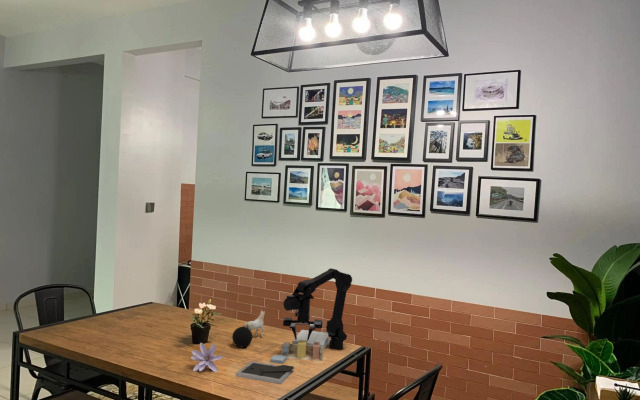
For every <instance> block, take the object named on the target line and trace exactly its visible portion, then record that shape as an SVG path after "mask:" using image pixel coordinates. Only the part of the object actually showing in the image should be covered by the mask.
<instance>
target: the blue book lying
mask: <svg viewBox="0 0 640 400" xmlns="http://www.w3.org/2000/svg"><path fill="white" fill-rule="evenodd" d="M269 360H270V361H269V363H271V364H278V365H279V364H280V365H284V363H285V362H286V361H287V356H281V354H274V355H273V356H272V357H271V358H270V359H269Z"/></svg>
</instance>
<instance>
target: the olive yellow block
mask: <svg viewBox="0 0 640 400" xmlns="http://www.w3.org/2000/svg"><path fill="white" fill-rule="evenodd" d="M306 347H307V341H304V340H299V341H298V347H297V358H305V357H306Z"/></svg>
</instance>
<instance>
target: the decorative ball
mask: <svg viewBox="0 0 640 400" xmlns="http://www.w3.org/2000/svg"><path fill="white" fill-rule="evenodd" d="M231 339H232V343H233V344H234V345H235V346H237V347H238V348H245V347H248V346H249V345H250V344H251V343H252V341H253V332H252V330H251V331H250V329H248V328H247V327H243V326H239V327H237V328H236V329H234V331H233V333H232V338H231Z"/></svg>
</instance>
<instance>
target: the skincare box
mask: <svg viewBox="0 0 640 400" xmlns="http://www.w3.org/2000/svg"><path fill="white" fill-rule="evenodd" d="M308 333H309V329H308V330H306V329H301V330H300V331H299V333H298V334H297V340H295V338H293V339H292V343H291V344H298V341H299V340H304V341H307V338H308ZM330 340H331V337H329V336H328V333H327V332H324V331H323V332H322V331H315V330H313V331H312V333H311V335H310V337H309V340H308V341H307V345H313V344H314V342H320V346H323V352H324V351H325V349H326V348H327V346H328V345H330Z"/></svg>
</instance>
